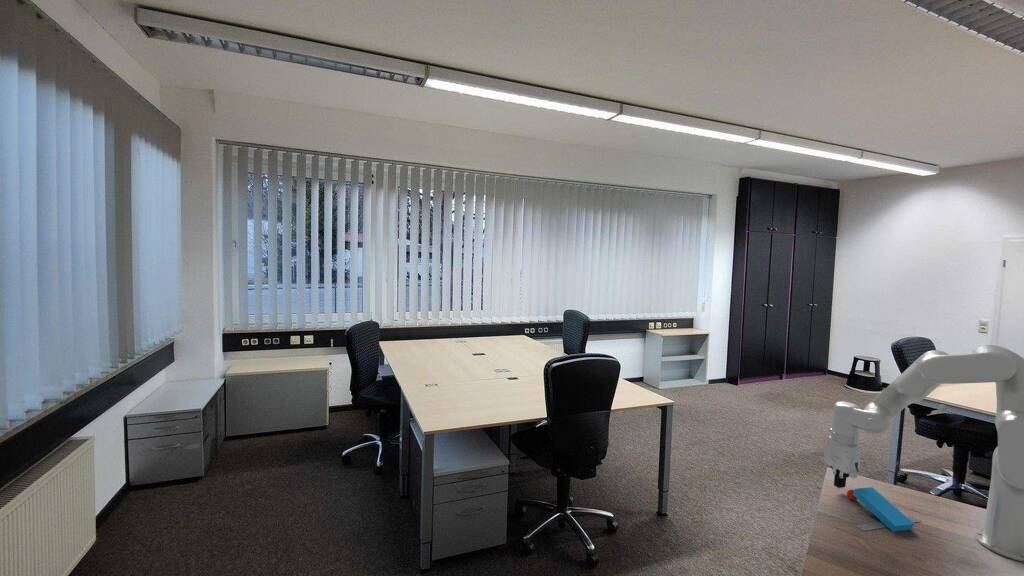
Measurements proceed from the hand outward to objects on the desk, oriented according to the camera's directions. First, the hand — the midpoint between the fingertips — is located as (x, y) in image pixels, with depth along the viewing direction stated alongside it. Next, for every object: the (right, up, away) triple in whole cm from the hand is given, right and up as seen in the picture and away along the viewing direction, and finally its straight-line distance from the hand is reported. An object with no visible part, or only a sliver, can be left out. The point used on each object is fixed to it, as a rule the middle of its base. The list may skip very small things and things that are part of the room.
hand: (839, 486), depth 154 cm
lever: (+3, -4, -12) cm, 13 cm away
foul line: (+3, -4, -17) cm, 18 cm away
